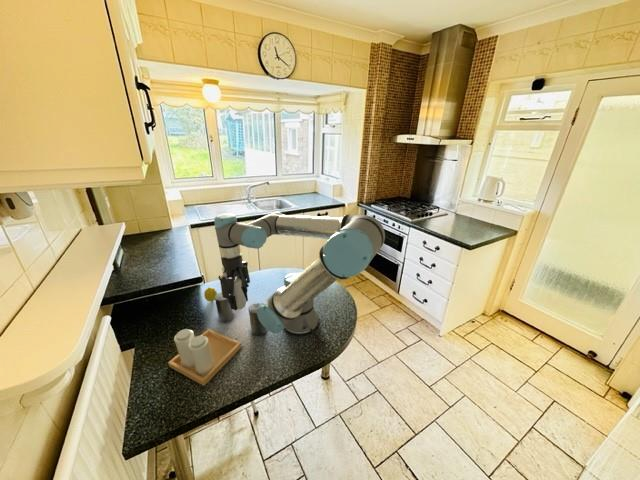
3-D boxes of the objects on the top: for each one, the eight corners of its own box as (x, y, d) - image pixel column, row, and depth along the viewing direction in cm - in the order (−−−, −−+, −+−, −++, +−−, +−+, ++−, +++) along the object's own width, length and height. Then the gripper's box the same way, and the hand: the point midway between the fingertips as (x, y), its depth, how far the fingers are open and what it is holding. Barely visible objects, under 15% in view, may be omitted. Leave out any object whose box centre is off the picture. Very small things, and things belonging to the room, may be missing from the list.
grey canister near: (269, 328, 108) (266, 305, 103) (260, 338, 103) (257, 314, 98) (257, 324, 110) (255, 301, 105) (248, 333, 105) (245, 310, 100)
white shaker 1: (203, 357, 94) (196, 330, 88) (189, 370, 89) (181, 342, 83) (192, 352, 96) (184, 325, 91) (178, 364, 91) (169, 336, 86)
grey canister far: (236, 316, 115) (232, 294, 110) (226, 324, 110) (222, 302, 105) (226, 312, 117) (222, 290, 112) (216, 320, 112) (211, 298, 108)
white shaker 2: (218, 364, 91) (211, 337, 86) (204, 378, 86) (196, 350, 81) (205, 358, 93) (198, 331, 88) (191, 371, 88) (183, 343, 83)
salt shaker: (250, 304, 107) (246, 277, 102) (240, 312, 102) (236, 285, 97) (239, 300, 110) (234, 274, 104) (229, 308, 105) (224, 281, 100)
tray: (241, 347, 99) (240, 342, 98) (204, 387, 84) (202, 381, 83) (209, 333, 105) (208, 328, 104) (169, 367, 90) (167, 362, 89)
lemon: (210, 306, 121) (207, 292, 118) (203, 302, 124) (200, 288, 120) (220, 300, 125) (217, 286, 122) (213, 296, 128) (210, 283, 125)
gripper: (240, 243, 105) (247, 290, 115) (203, 263, 90) (215, 315, 99) (255, 246, 102) (261, 294, 112) (219, 268, 87) (230, 321, 96)
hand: (239, 304), depth 106 cm, fingers closed on salt shaker, 6 cm apart
